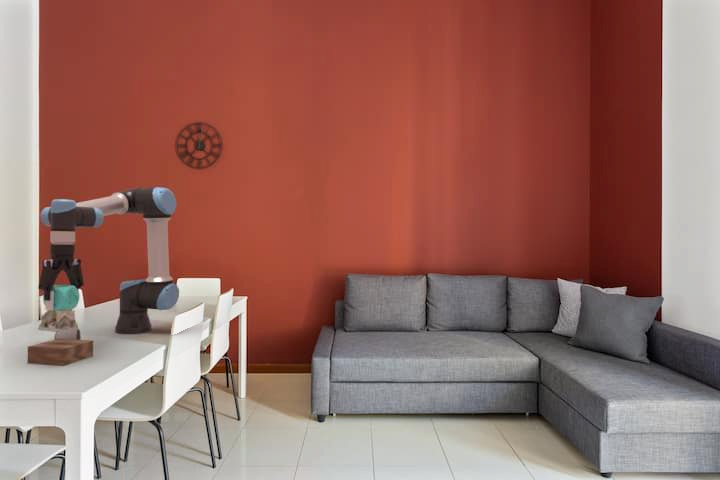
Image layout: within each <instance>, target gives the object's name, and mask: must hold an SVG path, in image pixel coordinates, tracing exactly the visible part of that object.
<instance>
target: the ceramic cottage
mask: <svg viewBox="0 0 720 480" xmlns="http://www.w3.org/2000/svg"><path fill="white" fill-rule="evenodd" d="M40 318H41V321H40V322H41V323H40V324H39V325H38V330H39V331H44V332H45V331H46V332H53V333H56V332H57V331H60V330H69V329H77V328H78V329H79V326H78V325H79V324H78V323H77V321H76V315H75V310H74V309H71V310H61V311H53V310H45V312H44V313H43V314H42V315H41V316H40Z"/></svg>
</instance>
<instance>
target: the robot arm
mask: <svg viewBox="0 0 720 480" xmlns="http://www.w3.org/2000/svg"><path fill="white" fill-rule="evenodd" d="M50 203H51V204H50V206H48V207H47V206H46V207H44V208H43V209H42V210H41V212H40V221H41V223H42V224H43V225H44V226H46V227H50V234H49V235H50V236H49V237H50V238H49V239H50V242H49V243H51V244H50V245H49V254H50V255H51V257H50V259H48V260H47V259H43V260H42V261H41V264H42V268H41V269H42V270H41V274H40V277H39V283H38V286H37V287H38V290H41V291H42V292H43V296H44V300H46V302H45V304H44V306H45V307H44V308H45V309H44V310H45V311H47V310H53V301H54V291H51V290H52V288H53V286H55V283H56V280H57V279H58V275H59V274H60V273H61V271H63V272H64V273H65V274H66V277H67V279H68V281H69V283H70V284H69V285H73V286H75V287H76V288H77V290H78V291H79V289H81V288H82V287H83V286H85V284H84V278H83V271H82V266H81V264H82V259H81V258H74V255H75V254H76V245H75V243H76V228H86V229H87V228H89V229H93V228H99V227H101V226H102V224H103V223H104V219H105V218H104V217H106V216H110V215H115V214H116V215H119V216H120V215H125V214H135V215H137V214H138V215H142V220H144V221H145V222H146V240H147V264H148V267H147V268H148V276H147V277H146V278H145V279H135V280H126V281H122V282H121V283H120V284H119V285H120V286H119V316H118V318H117V321H116V325H115V326H114V332H115V333H117V334H122V335H123V334H128V335H129V334H130V335H132V334H142V333H147V332H151V331H152V323H151V320H150V317H149V314H148V311H149V310H158V311H163V310H164V311H165V310H166V311H167V310H171V309H173V307H175V306H176V304H177V303H178V300H179V297H180V288H179V287H178V285H177V284H175V283H174V278H173V276H171V275H170V257H169V253H170V252H169V227H168V226H169V225H168V223H169V221H170V220H171V219H172V215H173V214H174V213H175V212H176V209H177V199H176V197H175V194H174V192H173V191H172V190H170V189H169V188H165V187H158V186H157V187H135V188H130V189H126V190H122V191H118V192H114V193H112V194H111V195H110V196H105V197H101V198H96V199H90V200H86V201H80V202H76V201H75V200H74V199H64V198H62V199H61V198H59V199H56V198H55V199H53V200H52V201H51V202H50ZM75 308H78V305H77V306H76V307H75Z"/></svg>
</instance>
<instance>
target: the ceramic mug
mask: <svg viewBox="0 0 720 480" xmlns="http://www.w3.org/2000/svg"><path fill="white" fill-rule="evenodd" d="M59 338H60V339H75V340H82V339H81V331H80V328H79V327H78V328H77V329H69V330H60V331H57V332H54V339H53V340H55V339H59Z"/></svg>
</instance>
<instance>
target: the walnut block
mask: <svg viewBox="0 0 720 480" xmlns="http://www.w3.org/2000/svg"><path fill="white" fill-rule="evenodd" d="M92 357H94V340H90V339H89V340H87V339H81V340H75V339H60V338H59V339H55V340H54V339H52V340H47V341H45V342H41V343H36V344H33V345H29V346H27V364H32V365H33V364H35V365H46V366H47V365H48V366H58V367H60V366H61V367H65V366H67V365H71V364H74V363H77V362H80V361H82V360H86V359H89V358H92Z"/></svg>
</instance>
